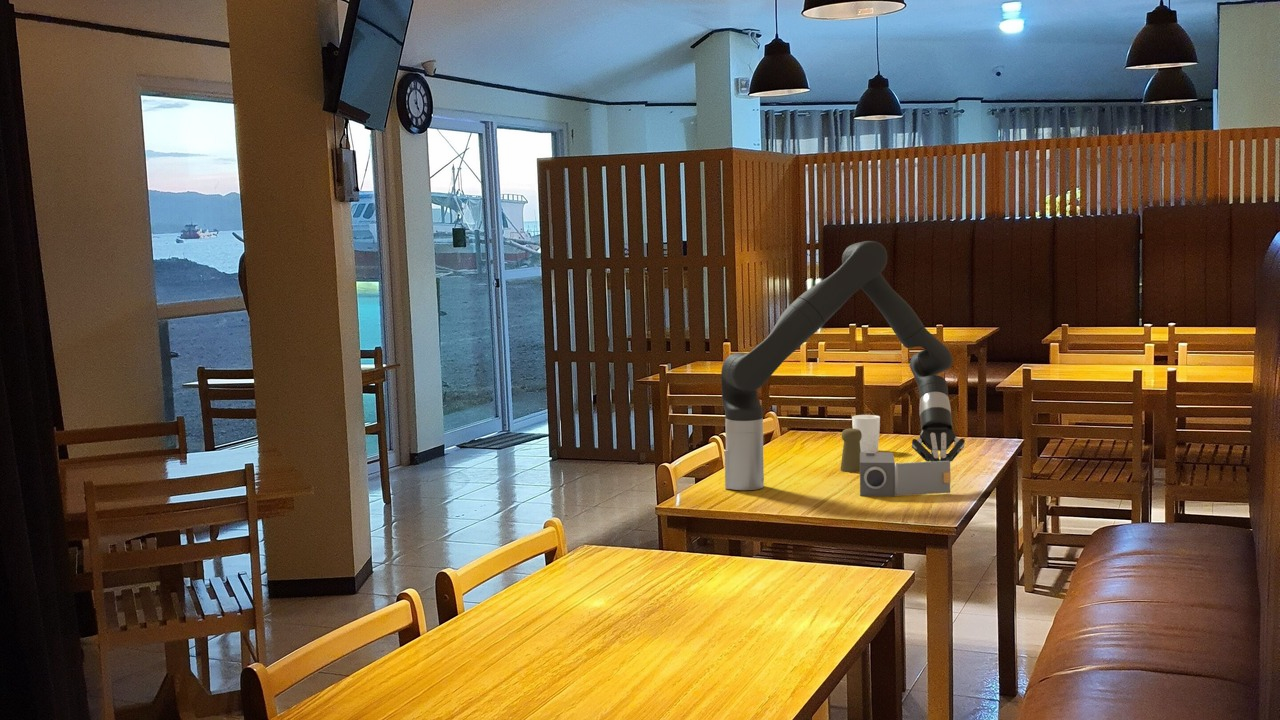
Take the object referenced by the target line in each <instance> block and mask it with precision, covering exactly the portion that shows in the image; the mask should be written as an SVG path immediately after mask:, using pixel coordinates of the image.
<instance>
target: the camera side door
mask: <svg viewBox="0 0 1280 720" xmlns="http://www.w3.org/2000/svg"><path fill="white" fill-rule="evenodd" d="M949 493H951V461H933V462H931V461H929V462H927V461H917V462H915V461H914V462H898V463H896V462H895V496H913V495H929V494H931V495H932V494H934V495H935V494H949Z"/></svg>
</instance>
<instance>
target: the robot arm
mask: <svg viewBox="0 0 1280 720" xmlns="http://www.w3.org/2000/svg"><path fill="white" fill-rule="evenodd" d="M887 264H888V252H887V249H886V248H885V246H884V245H883V244H882V243H880V242H879V241H875V240H864V241H860V242H856V243H852V244H851V245H848V246H847V247H846V248H845V250H844V251H843V253H842V256H841V265H840V266H839V267H838V268H837V269H836V270H835V271H834V272H833V273H831V274H830V275H829V276H828V277H826V278H824V279H822V280H821V281H820V282H819V281H818V283H815V284H814V285H813V286H812V287H810V288H809V289H807V290H805V291H804V292H802V294H801V295H799V296H798V297H797V298H796V299H795V300H793V302H792V303H790V304H789V305H788V306H787V307H786V309H784V310H783V311H782V313H781V315H780V316H779V318H778V319H777V321H776V323H775V324H774V326H773V328H772V330H771V331H770V333H769V334H768V335H767V337H766V338H765V339H764V340H763V341H761V342H760V343H759V344H758V345H757V346H755V347H754V348H753V349H751V350H750V351H749V352H748V353H746V352H733V353H731V354H730V355H728V356H727V357H726V358H725V360H724V361H723V363H722V366H721V373H720V375H721V376H720V378H721V379H720V383H721V397H722V398H721V400H722V401H721V402H722V407H723V409H724V415H725V419H724V420H725V422H724V423H725V450H724V480H725V481H724V483H725V484H724V485H725V486H724V489H726V490H736V491H754V490H759V489H763V488H764V485H765V483H764V481H765V478H764V475H765V474H764V419H763V417H764V410H763V406H762V405H761V403H760V400H759V398H758V390H759V389H760V388H761V387H762V386H763V385H764V384H765V383H766V382H767V381H768V380H769V379H770V377H771V376H772V375H773V374H774V373H775V372H776V371H777V370H778V368H779V367H780V366H781V365H782V363H784V362H785V360H786V359H787V358H788V357H789V356H791V355H792V354H793V353H794V352H795V351H797V350H798V349H799V348H800V347H801V346H802V345H803V344H804V343H805V342H806V341H808V340H809V339H810V338H811V337H813V336H814V334H815V333H817V331H819V330H820V329H821V328H822V327H823V326H824V325H825V324H826V322H828V321H829V320H830V319H831V318H832V317H833V316H834V315H836V313H837V312H838V311H839V310H840V309H841V308H842V307H843V305H845V304H846V302H847V301H848V300H850V298H851V297H852V296H853V295H855V294H856V293H857V292H858V291H859V290H862V291H863V292H864V293H865V294H866V296H867V297H868V298H869V300H870V301H871V302H872V303H873V304H874V306H875V307H876V308H877V309H878V311H879V312H880V314H882V316H883V318H884V319H885V321H886V322H887V323H888V325H889V327H890V328H891V329H892V331H893V332H894V334H895V335H896V337H897V338H898V340H899V342H900V343H901V344H902V346H903V347H904V348H907V349H912V348H919V347H920V348H922V349H923V350H920V351H919V352H917V353H915V354H913V355H912V356H911V358H910V360H909V368H910V372H911V373H912V375H913V377H914V379H915V382H916V385H917V387H918V395H919V413H918V414H919V419H920V420H919V421H920V433H919V437H918V438H913V439H912V440H911V448H912V449H913V450H914V451H915V453H917V454H918V455H919V456H920V457H921V458H922V459H923V460H924V462H933V461H950V462H953V461H954V459H955V458H957V456H958V455H959V454H960V452H961V451H962V450H963V449H964V447H965V443H966V442H965V441H966V440H965V439H964V438H959V437H957V435H956V433H955V432H954V428H953V418H952V409H951V402H950V398H949V389H948V388H949V387H948V383H947V381H946V379H945V378H944V377H943V376H941V375H938V374H941V373H943V372H945V371H947V370H949V369H950V368H951V367H952V365H953V357H952V354H951V353H952V352H950V350H949V348H948V347H947V346H946V345H945V344H944V343H943V342H941V341H940V340H938V339H937V337H935V336H934V335H933V334H932V333H931V331H929V330H928V329H927V327H926V326H925V325H924V323H923V322H922V321H921V319H920V317H919V316H918V314H917V312H915V310H914V309H913V308H912V307H911V305H909V304H908V302H907V301H906V300H905V299H903V297H901V296H900V295H899V294H898V293H897V292H896V291H895V289H893V288H892V286H890V284H889V282H888V281H887V279H885V277H884V275H883V274H882V272H883V271H884V270H885V268H886V265H887ZM952 445H953V446H952ZM951 446H952V449H950V451H949V452H948V453H947V451H948V449H949V448H950V447H951ZM929 450H930V451H929ZM939 452H940V453H939ZM939 455H940V456H939ZM939 457H940V458H939Z"/></svg>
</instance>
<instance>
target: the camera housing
mask: <svg viewBox="0 0 1280 720" xmlns="http://www.w3.org/2000/svg"><path fill="white" fill-rule="evenodd" d="M895 463H896V462H895V456H894V453H893V452H888V451H887V452H885V451H884V452H880V451H878V452H860V472H859V494H860V495H859V496H860V497H896V495H895Z"/></svg>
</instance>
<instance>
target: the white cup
mask: <svg viewBox="0 0 1280 720" xmlns="http://www.w3.org/2000/svg"><path fill="white" fill-rule="evenodd" d="M851 421H852V423H851V424H852V428H853V429H858V430H860V431H861V434H862V438H861V440H860V449H861V452H879V443H880V442H879V441H880V427H881V416H880V415H875V414H857V415H852V416H851Z"/></svg>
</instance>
